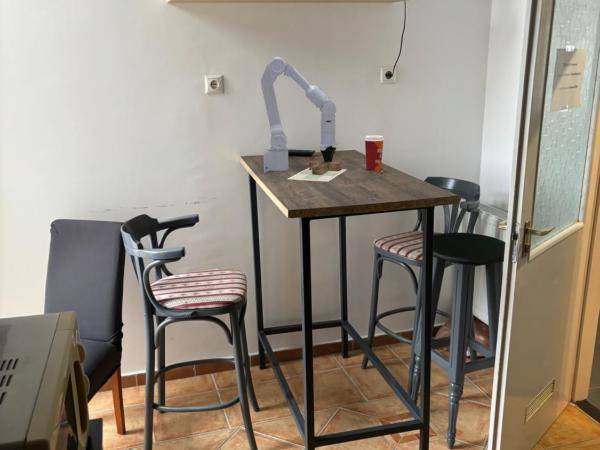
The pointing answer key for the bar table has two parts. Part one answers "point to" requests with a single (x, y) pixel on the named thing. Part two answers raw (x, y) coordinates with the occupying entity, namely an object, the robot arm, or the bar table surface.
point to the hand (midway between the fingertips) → (328, 165)
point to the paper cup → (373, 152)
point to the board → (309, 176)
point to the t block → (324, 167)
